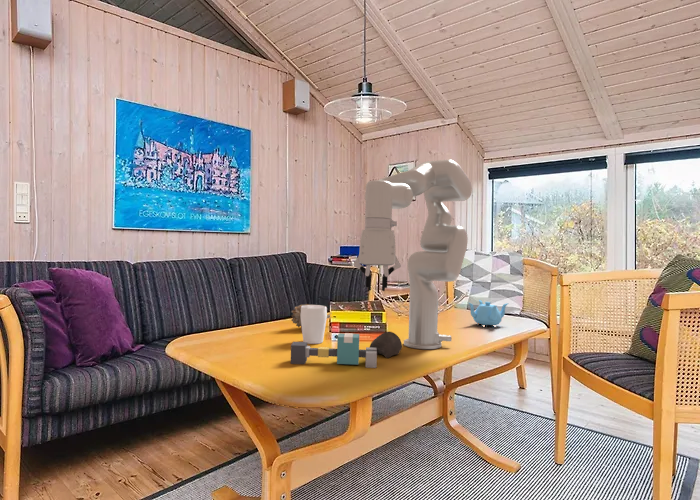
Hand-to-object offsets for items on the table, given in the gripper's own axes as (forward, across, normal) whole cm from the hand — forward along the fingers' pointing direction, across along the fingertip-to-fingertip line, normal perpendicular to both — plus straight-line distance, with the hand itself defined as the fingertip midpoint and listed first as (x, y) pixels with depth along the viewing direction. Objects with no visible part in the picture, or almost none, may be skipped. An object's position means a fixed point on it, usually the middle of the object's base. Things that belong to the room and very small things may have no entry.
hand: (376, 289), depth 132 cm
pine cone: (+21, +22, -50) cm, 59 cm away
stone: (+22, -4, -12) cm, 25 cm away
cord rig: (+21, +12, 0) cm, 24 cm away
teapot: (+21, -48, -67) cm, 85 cm away
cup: (+21, +20, -26) cm, 39 cm away
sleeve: (+21, +8, 0) cm, 23 cm away
